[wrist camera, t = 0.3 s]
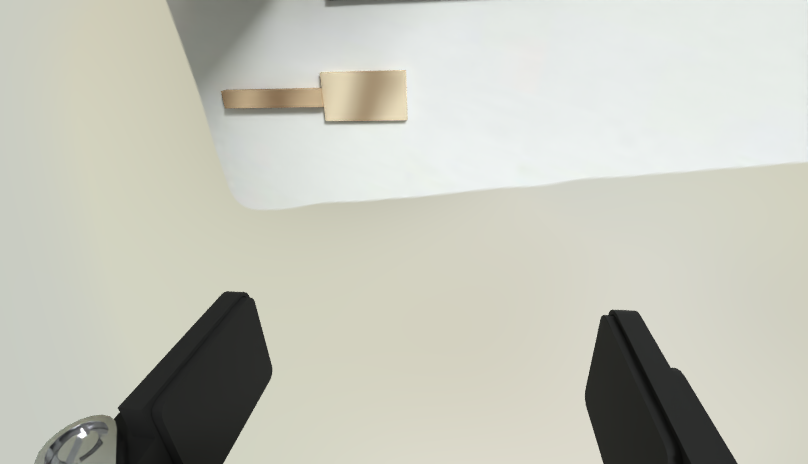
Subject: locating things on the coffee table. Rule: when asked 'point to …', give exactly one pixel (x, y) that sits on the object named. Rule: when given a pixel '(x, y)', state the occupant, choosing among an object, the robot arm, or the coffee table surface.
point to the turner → (336, 96)
